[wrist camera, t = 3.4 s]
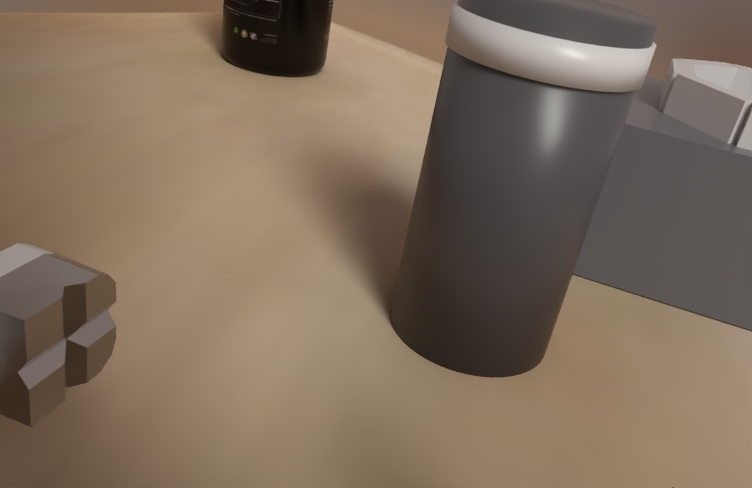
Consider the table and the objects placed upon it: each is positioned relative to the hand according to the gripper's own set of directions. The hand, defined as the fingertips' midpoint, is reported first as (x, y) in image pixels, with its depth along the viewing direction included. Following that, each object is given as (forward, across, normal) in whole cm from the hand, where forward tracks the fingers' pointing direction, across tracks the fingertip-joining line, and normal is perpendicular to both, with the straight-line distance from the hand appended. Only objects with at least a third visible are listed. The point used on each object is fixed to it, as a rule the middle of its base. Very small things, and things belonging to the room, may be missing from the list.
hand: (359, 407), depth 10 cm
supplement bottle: (+35, +19, +6) cm, 40 cm away
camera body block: (+23, -8, +6) cm, 25 cm away
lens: (+12, 0, +6) cm, 13 cm away
